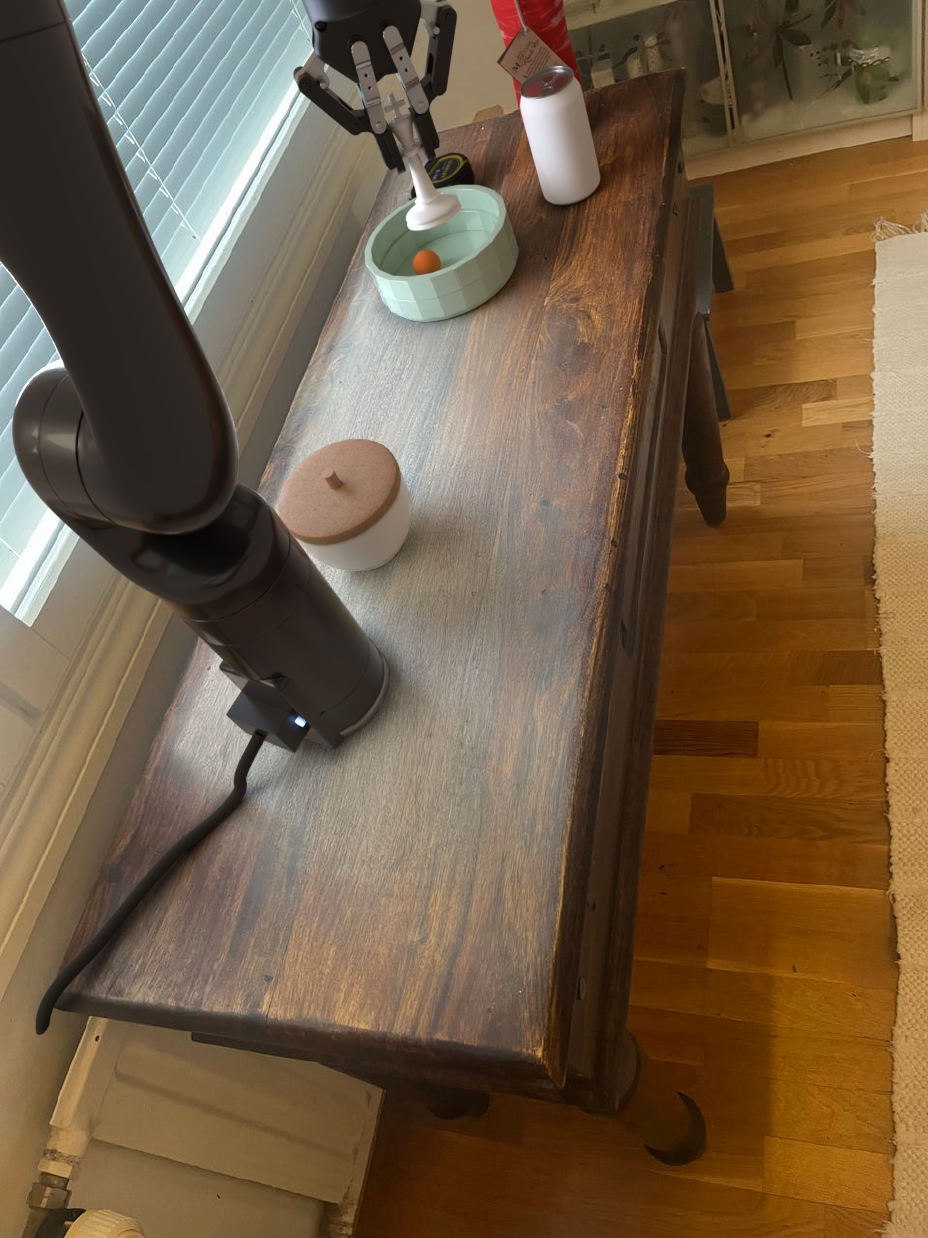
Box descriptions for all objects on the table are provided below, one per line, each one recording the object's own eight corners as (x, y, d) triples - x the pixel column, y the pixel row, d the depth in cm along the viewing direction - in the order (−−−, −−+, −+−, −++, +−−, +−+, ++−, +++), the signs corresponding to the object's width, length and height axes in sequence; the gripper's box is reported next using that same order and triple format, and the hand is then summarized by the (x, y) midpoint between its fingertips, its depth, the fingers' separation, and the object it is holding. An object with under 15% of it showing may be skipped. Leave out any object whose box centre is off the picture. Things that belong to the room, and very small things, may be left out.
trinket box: (295, 559, 84) (244, 492, 77) (376, 480, 87) (335, 407, 79) (367, 612, 78) (319, 545, 71) (453, 525, 81) (415, 451, 73)
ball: (433, 286, 100) (417, 284, 102) (450, 267, 100) (434, 265, 102) (419, 263, 98) (402, 261, 100) (437, 244, 98) (420, 242, 100)
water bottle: (582, 165, 105) (526, -87, 85) (515, 176, 108) (446, -64, 88) (599, 105, 111) (550, -143, 91) (535, 117, 114) (474, -121, 94)
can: (601, 165, 104) (578, 55, 94) (600, 199, 100) (577, 89, 91) (545, 178, 106) (517, 73, 96) (542, 212, 102) (513, 106, 93)
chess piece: (402, 219, 82) (356, 101, 75) (453, 195, 82) (412, 75, 75) (414, 236, 78) (367, 114, 71) (467, 211, 78) (425, 86, 71)
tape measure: (436, 181, 113) (425, 152, 110) (486, 176, 110) (477, 146, 107) (415, 216, 110) (404, 188, 107) (466, 213, 107) (456, 183, 104)
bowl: (479, 329, 94) (462, 285, 90) (359, 318, 102) (338, 276, 98) (543, 230, 100) (530, 184, 96) (425, 226, 108) (409, 183, 104)
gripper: (245, -17, 61) (348, 218, 75) (436, -111, 61) (505, 143, 74) (232, -47, 66) (331, 179, 80) (408, -134, 65) (478, 108, 79)
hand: (415, 161), depth 77 cm, fingers closed on chess piece
